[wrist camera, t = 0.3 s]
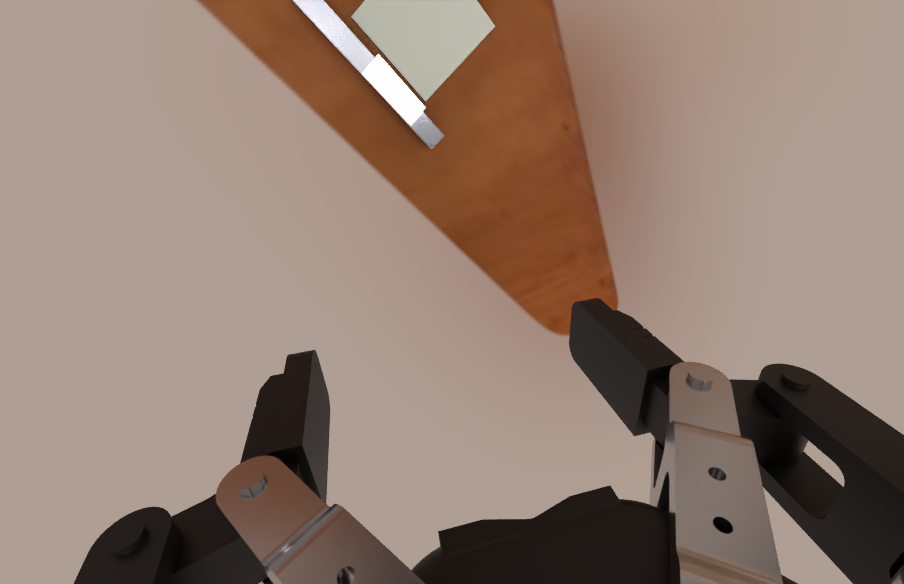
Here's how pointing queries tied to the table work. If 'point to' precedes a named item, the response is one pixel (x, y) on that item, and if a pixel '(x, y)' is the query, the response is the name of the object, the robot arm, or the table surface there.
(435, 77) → the pad
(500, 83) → the table surface
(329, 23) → the price rail
